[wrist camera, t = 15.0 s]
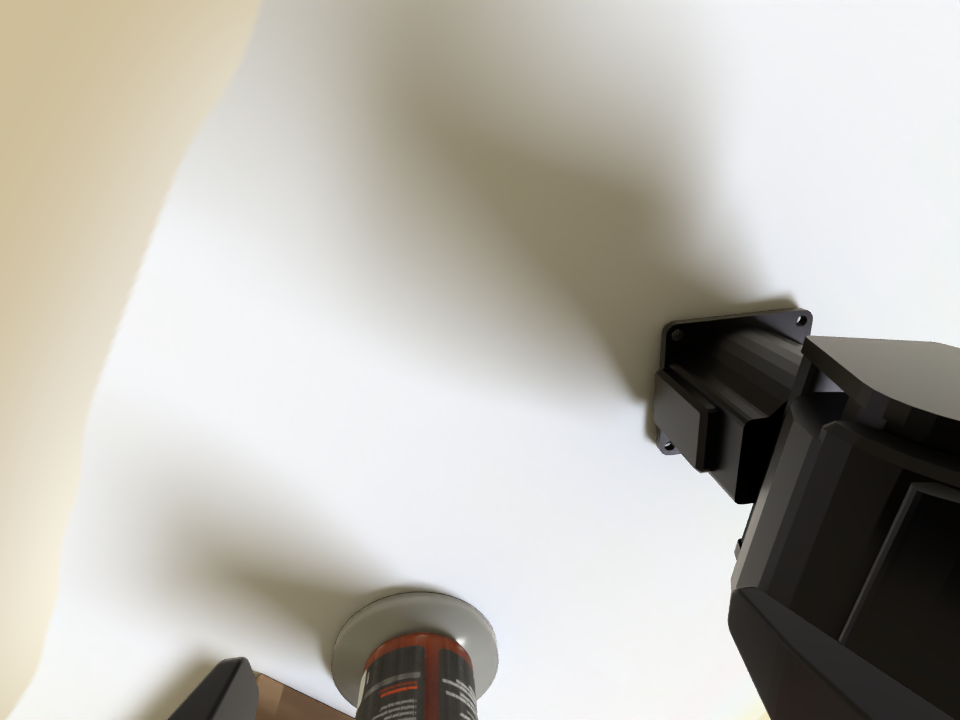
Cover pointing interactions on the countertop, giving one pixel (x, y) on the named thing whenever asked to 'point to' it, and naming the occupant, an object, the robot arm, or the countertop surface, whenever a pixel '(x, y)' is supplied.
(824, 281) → the countertop surface
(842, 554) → the robot arm
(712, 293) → the countertop surface
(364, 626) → the grey round disc
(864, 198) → the countertop surface
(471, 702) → the supplement bottle
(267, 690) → the walnut holder
